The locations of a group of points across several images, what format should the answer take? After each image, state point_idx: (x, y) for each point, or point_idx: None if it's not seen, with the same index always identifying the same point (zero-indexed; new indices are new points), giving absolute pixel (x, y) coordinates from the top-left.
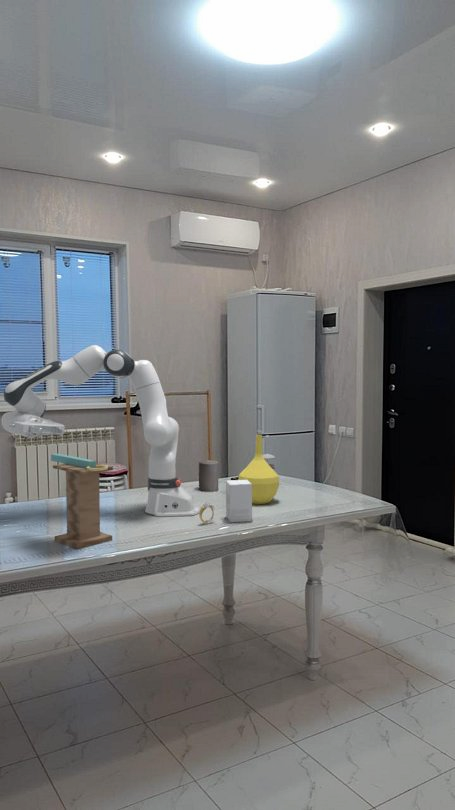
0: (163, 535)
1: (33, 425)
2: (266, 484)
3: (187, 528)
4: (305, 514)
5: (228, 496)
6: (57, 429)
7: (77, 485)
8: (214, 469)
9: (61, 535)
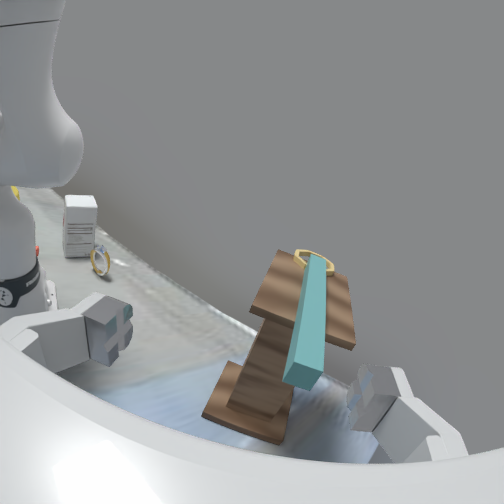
0: (172, 312)
1: (437, 463)
2: (19, 199)
3: (128, 291)
4: (62, 212)
5: (87, 225)
6: (42, 357)
7: None
8: None
9: (271, 433)
